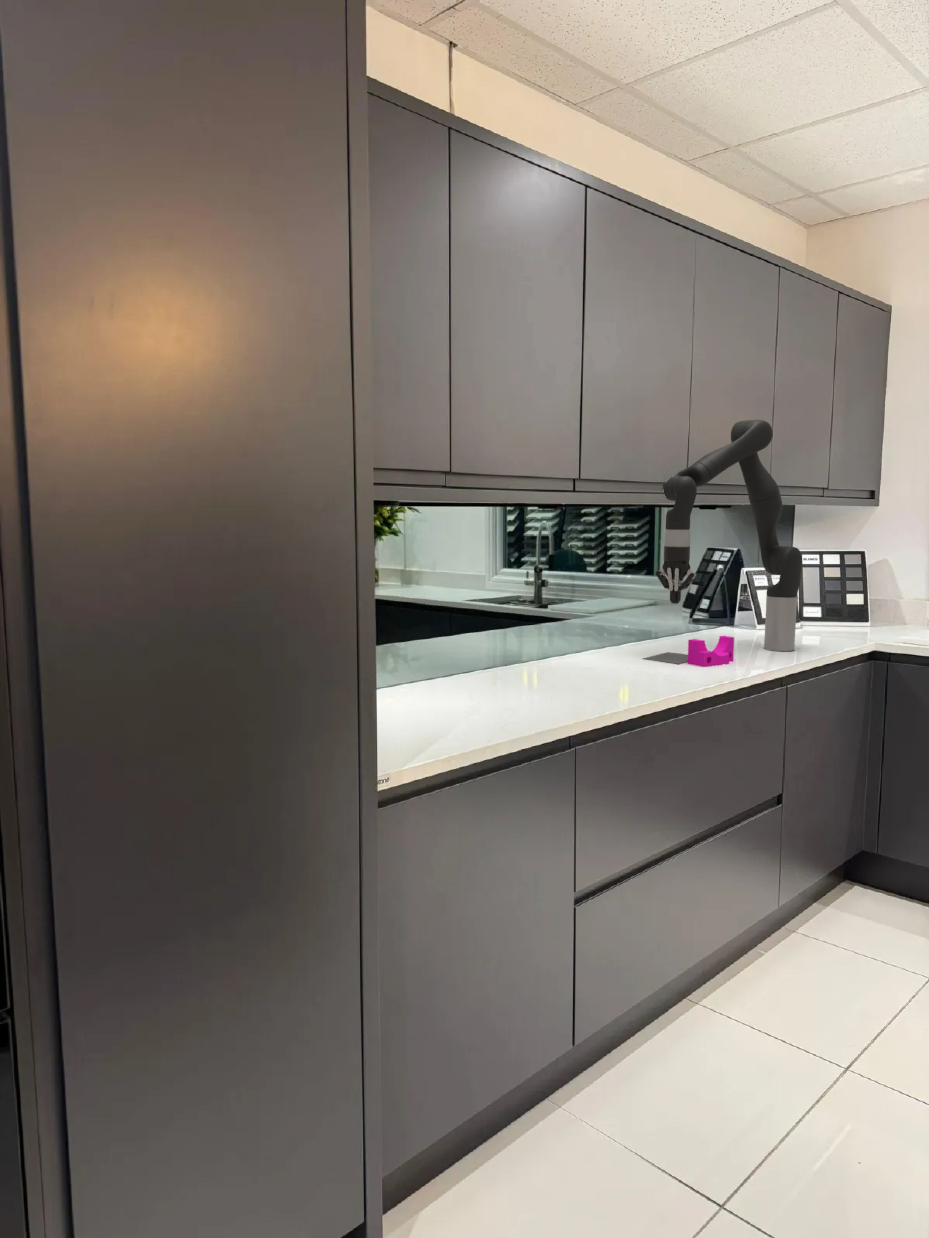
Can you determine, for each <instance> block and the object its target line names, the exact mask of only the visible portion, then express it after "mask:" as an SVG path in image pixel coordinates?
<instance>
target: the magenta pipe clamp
mask: <svg viewBox="0 0 929 1238" xmlns="http://www.w3.org/2000/svg"><path fill="white" fill-rule="evenodd" d="M687 643H688V644H687V645H688V647H687V655H688V662H687V664H688V665H693V666H697V667H703V668H709V667H713V666H714V667H717V666H724V665H723V664H725V665H729V664H730V663H731V662H734V654H735V653H734V650H735V637H734V636H730V635H729V636H728V635H721V636H719V638H718V642H717V644H716V646H715V648H713V649H712V650H708V648H707V645H706V640H703V639H698V638H690V639H688V641H687ZM730 661H731V662H730ZM716 665H717V666H716Z"/></svg>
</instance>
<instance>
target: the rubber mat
mask: <svg viewBox="0 0 929 1238" xmlns="http://www.w3.org/2000/svg"><path fill="white" fill-rule="evenodd" d="M642 660H646V661H653V662H659V663H666V664H672V665H682V664H686V663H688V653H687V654H685V653H677V652H668V651H667V652H662V653H659V654H656V655H651V656H647V657H643V658H642Z"/></svg>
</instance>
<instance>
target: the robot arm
mask: <svg viewBox="0 0 929 1238" xmlns="http://www.w3.org/2000/svg"><path fill="white" fill-rule="evenodd" d="M773 435H774V433H773V427H772V425H771V424H770V423H769V422H768V421H766V420H763V419H749V420H748V419H747V420H741V421H740V420H739V421H737V422H736V423H734V424H733V426H732V428H731V430H730V442H731V443H729V444H726V445H725V446H721V447H720V448H717V449H715V450H713V451H710V452H709V453H706V454H705V455H704V456H702V457H701V458H700V459H698V460H696V461H695V462H693V463H692V464H691V465H689V466H688V467H686V468H683V469H681V470H679V471H678V473H677V472H676V473H677V474H676V475H674V477H671V478H670V479H669V480H668V481H667V483H665V484H663V483H662V486H663V489H664V494H665V496H666V498H667V499H666V498H665V499H666V500H668V501H671V502H674V506H673V508H671V509H669V510H668V511H667V512H666V515H665V529H664V531H665V532H664V537H663V563H662V565H661V568H660V569H659V570H657V571H655V575H656V577H657V579H658V581H660V584H661V585H662V587H663V588H664V589H667V590H669V601H670V603H671V604H675V605H678V604H679V603H680V602H681V599H682V591H683V590H686V589H688V587H690V586H691V584H692V583H693V582H694V580H695V579H696V577H697V576H698V573H697V572H694V571H693V570H692V569H691V565H690V559H691V558H690V557H691V515H692V511H693V509H694V505H695V501H696V497H697V491H698V487H699V488H700V487H702V486H704V485H706V484H708V483H709V482H711V481H712V480H713V479H715V478H716V477H717V476H719V475H720V474H722V473H723V472H724V471H726V470H727V469H729V468H730V467H732V466H733V465H735V464H737V463H738V464H739V467H740V470H741V473H742V478H743V480H744V483H745V488H746V490H747V491H746V492H747V494H748V500H749V501H748V502H749V504H750V508H751V512H752V515H753V519H754V523H755V527H756V531H757V537H758V542H759V548H760V557H761V561H762V566H763V569H764V570H765V571H766V573H768V574H771V575H777V576H778V575H779V579H778V581H777V583H775V584H772V585H770V586H768V587H767V588H766V598H765V599H766V601H765V602H766V603H765V623H764V641H763V642H764V643H763V645H764V646H763V649H765V650H767V651H773V652H774V651H775V652H793V651H795V646H796V645H795V642H796V640H795V639H796V624H797V623H796V622H797V603H798V602H797V601H798V592H799V589H800V585H801V578H802V577H801V576H802V569H803V557H802V553H801V550H800V549H799V548H798V547H795V546H787V545H786V546H783V545H780V543H779V541H778V536H777V528H778V527H777V526H778V524H779V521H780V518H781V515H782V513H783V506H784V505H783V501H782V496H781V492H780V488H779V486H778V483H777V482H776V480H775V479H774V477H773V476H772V475H771V474H770V473H769V471H768V470H767V469H766V467H765V466H764V465H763V463H762V461H761V459H760V457H759V454H758V452H760V451H762V450H764V449H766V448H767V447H769V445H770V444H771V442H772V440H773Z"/></svg>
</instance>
